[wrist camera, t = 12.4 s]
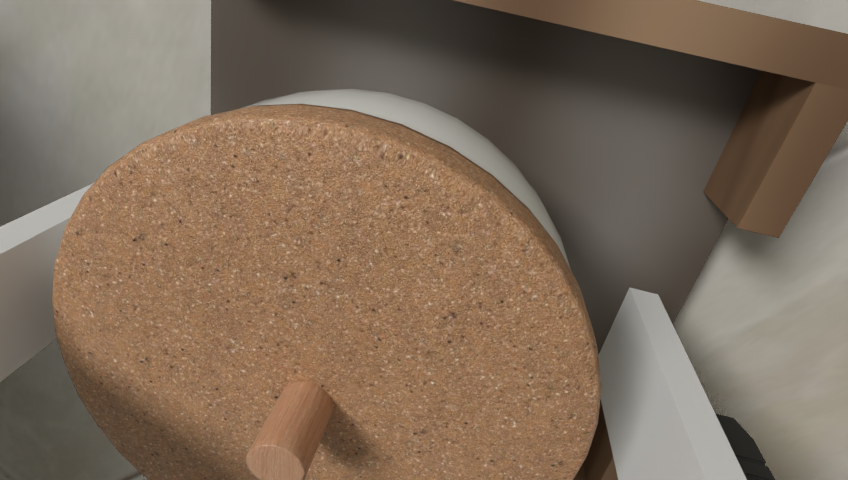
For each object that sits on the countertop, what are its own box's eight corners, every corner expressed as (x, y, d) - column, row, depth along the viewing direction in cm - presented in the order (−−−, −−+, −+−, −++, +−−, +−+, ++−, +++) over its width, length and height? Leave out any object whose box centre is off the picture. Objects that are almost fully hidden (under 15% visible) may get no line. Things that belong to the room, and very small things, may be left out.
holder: (217, 355, 21) (173, 410, 18) (223, -100, 14) (152, -121, 11) (594, 454, 20) (607, 527, 18) (812, 32, 13) (892, 43, 10)
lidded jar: (611, 95, 14) (762, 256, 6) (514, 388, 19) (517, 706, 10) (235, 20, 15) (-133, 64, 6) (236, 323, 19) (30, 574, 11)
